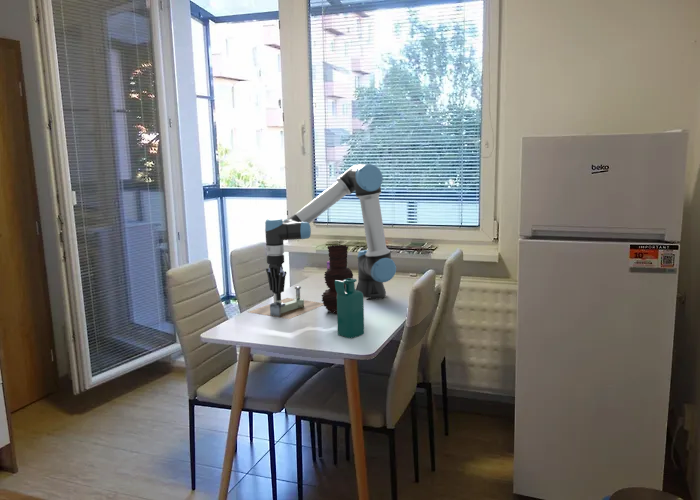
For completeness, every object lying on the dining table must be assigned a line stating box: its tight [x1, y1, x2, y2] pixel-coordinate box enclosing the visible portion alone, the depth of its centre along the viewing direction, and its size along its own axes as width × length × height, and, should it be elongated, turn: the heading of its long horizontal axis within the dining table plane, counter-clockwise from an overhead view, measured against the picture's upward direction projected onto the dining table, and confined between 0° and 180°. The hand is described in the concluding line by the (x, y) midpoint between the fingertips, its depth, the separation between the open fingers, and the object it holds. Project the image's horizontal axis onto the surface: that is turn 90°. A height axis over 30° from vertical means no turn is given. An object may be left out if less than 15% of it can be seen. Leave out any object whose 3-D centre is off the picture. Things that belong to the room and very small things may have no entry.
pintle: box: [294, 285, 302, 300], centre depth 250 cm, size 3×3×6 cm
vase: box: [321, 244, 354, 315], centre depth 241 cm, size 15×15×30 cm
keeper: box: [270, 301, 285, 318], centre depth 238 cm, size 5×4×5 cm
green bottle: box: [335, 277, 365, 339], centre depth 213 cm, size 10×8×22 cm
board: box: [248, 297, 324, 320], centre depth 250 cm, size 23×28×2 cm
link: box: [281, 298, 305, 313], centre depth 246 cm, size 17×5×3 cm, turn 142°
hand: (277, 307), depth 246 cm, fingers closed
